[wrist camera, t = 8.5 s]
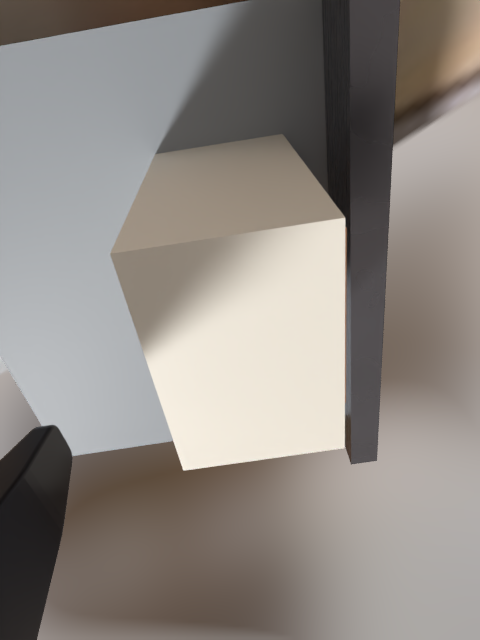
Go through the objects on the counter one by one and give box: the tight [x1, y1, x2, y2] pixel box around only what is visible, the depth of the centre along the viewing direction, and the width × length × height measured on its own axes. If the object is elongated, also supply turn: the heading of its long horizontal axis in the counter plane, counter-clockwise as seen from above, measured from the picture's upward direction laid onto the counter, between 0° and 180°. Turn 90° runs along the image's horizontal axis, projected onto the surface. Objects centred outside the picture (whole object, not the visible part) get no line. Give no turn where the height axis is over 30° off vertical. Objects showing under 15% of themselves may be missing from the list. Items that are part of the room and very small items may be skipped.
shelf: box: [0, 0, 400, 464], centre depth 17 cm, size 16×18×6 cm
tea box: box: [110, 134, 347, 470], centre depth 13 cm, size 6×5×8 cm
